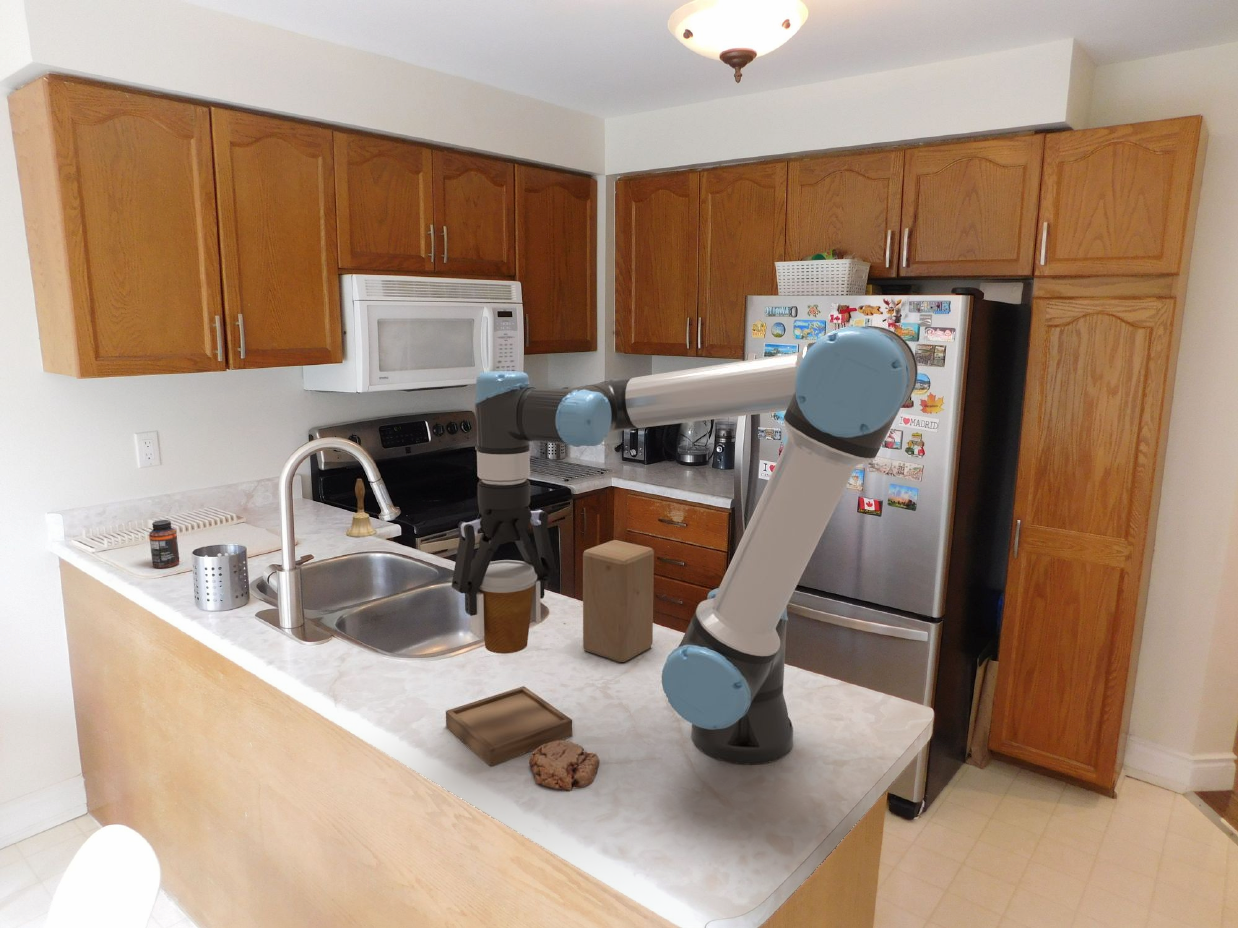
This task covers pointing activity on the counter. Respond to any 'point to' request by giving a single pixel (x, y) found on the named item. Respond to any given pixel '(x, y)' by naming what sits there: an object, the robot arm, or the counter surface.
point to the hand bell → (360, 516)
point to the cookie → (563, 765)
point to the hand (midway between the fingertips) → (506, 626)
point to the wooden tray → (508, 724)
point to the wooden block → (618, 599)
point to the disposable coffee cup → (507, 605)
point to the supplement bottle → (164, 545)
